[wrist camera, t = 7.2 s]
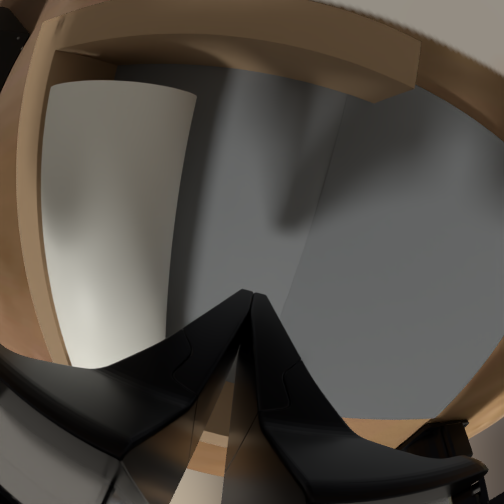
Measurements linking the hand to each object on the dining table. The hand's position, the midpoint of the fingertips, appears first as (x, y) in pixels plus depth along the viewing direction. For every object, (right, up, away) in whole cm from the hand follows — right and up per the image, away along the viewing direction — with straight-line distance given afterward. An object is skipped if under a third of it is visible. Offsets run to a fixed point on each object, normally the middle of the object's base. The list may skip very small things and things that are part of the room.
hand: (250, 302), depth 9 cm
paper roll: (-5, +2, 0) cm, 6 cm away
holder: (+4, 0, +3) cm, 5 cm away
